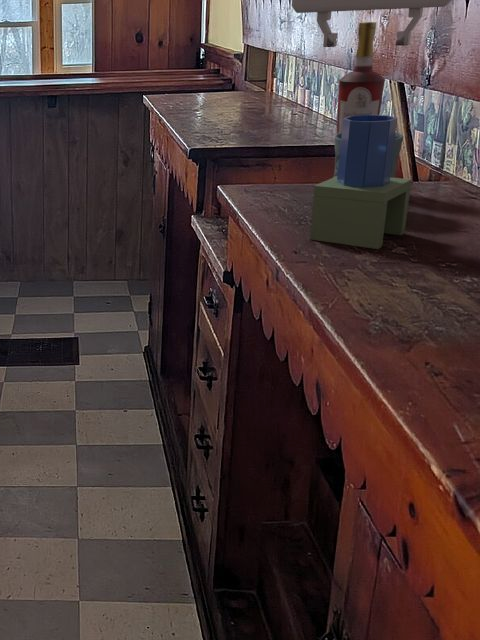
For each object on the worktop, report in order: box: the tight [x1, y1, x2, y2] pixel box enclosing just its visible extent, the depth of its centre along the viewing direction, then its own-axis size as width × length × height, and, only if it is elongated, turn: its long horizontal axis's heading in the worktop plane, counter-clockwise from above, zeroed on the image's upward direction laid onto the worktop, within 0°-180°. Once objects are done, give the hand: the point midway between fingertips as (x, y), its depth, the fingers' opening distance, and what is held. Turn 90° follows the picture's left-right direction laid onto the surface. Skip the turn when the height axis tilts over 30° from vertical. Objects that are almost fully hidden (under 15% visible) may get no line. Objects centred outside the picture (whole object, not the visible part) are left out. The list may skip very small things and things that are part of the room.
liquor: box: [332, 21, 386, 178], centre depth 150 cm, size 7×7×28 cm
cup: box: [337, 114, 398, 188], centre depth 123 cm, size 7×7×9 cm
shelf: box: [309, 176, 412, 250], centre depth 126 cm, size 10×10×8 cm
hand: (365, 46), depth 118 cm, fingers open, 8 cm apart
